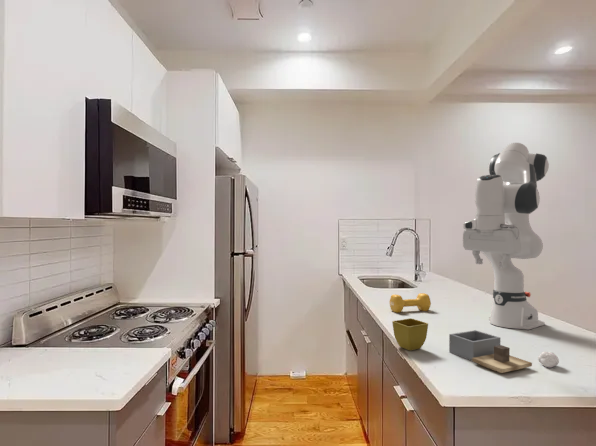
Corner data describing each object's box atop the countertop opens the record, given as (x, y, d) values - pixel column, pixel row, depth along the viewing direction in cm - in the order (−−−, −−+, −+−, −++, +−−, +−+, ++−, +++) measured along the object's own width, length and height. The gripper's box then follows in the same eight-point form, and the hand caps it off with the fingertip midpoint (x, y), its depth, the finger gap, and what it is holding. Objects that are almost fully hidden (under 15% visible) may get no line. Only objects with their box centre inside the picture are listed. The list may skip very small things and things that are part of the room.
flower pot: (409, 353, 139) (409, 326, 139) (391, 346, 146) (391, 320, 146) (428, 349, 143) (428, 323, 143) (410, 343, 151) (410, 318, 150)
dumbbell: (422, 308, 210) (422, 291, 210) (432, 312, 201) (432, 295, 201) (387, 310, 205) (387, 293, 205) (396, 314, 196) (396, 296, 196)
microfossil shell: (550, 353, 124) (562, 353, 126) (533, 349, 129) (545, 348, 131) (549, 369, 124) (561, 368, 126) (533, 364, 129) (545, 363, 131)
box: (475, 347, 145) (475, 330, 145) (500, 356, 136) (500, 337, 136) (449, 352, 140) (449, 334, 140) (473, 361, 131) (473, 342, 131)
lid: (501, 359, 134) (501, 339, 134) (531, 370, 125) (532, 349, 124) (472, 365, 129) (472, 344, 129) (502, 376, 119) (502, 355, 119)
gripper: (525, 224, 131) (526, 268, 132) (472, 222, 149) (473, 261, 150) (511, 225, 128) (512, 270, 129) (459, 223, 147) (460, 263, 147)
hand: (490, 265), depth 140 cm, fingers open, 8 cm apart
